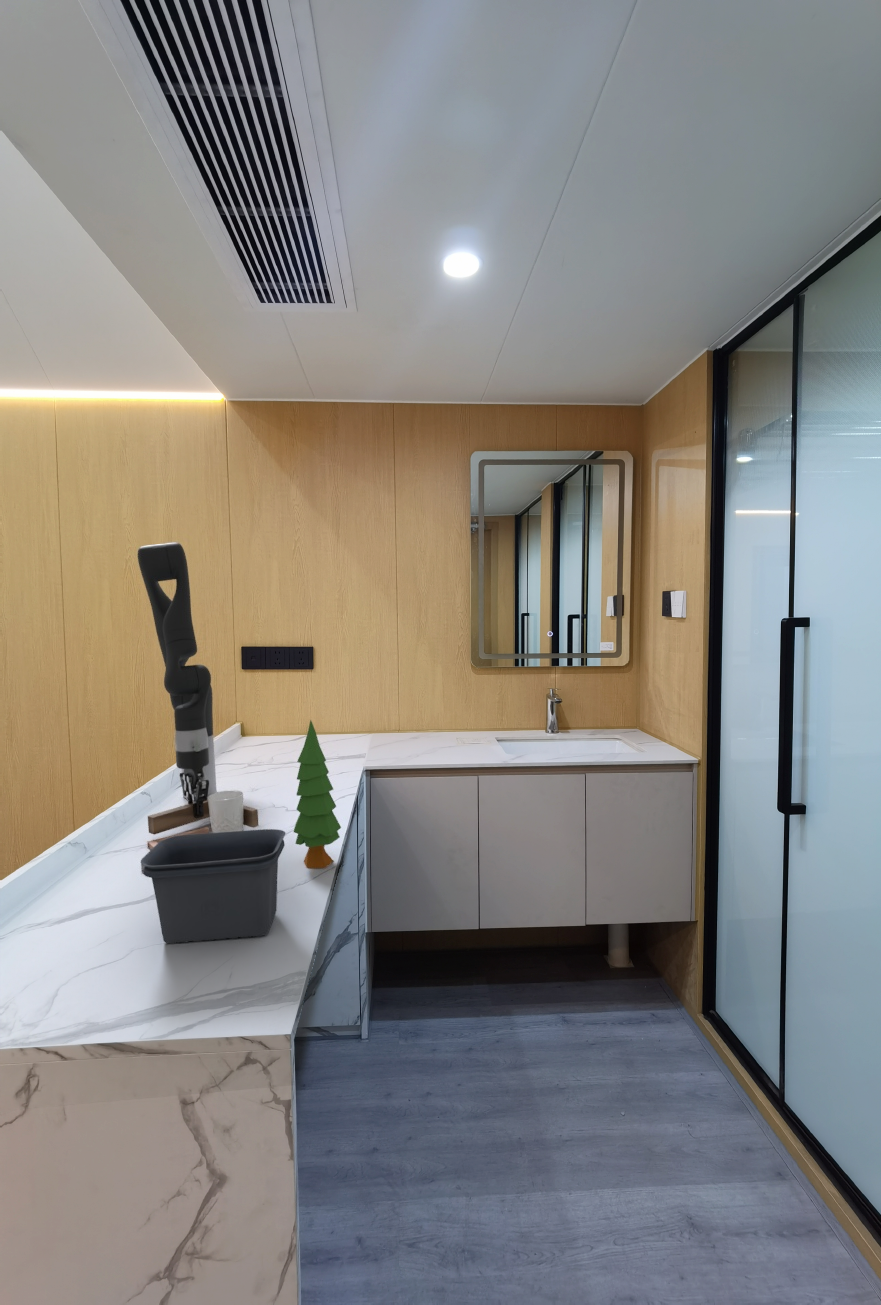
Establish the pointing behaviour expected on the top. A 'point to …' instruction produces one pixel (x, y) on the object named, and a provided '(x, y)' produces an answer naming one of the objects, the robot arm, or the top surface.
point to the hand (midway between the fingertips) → (196, 815)
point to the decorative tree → (315, 804)
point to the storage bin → (215, 884)
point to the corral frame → (198, 831)
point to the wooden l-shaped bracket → (191, 817)
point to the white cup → (226, 811)
